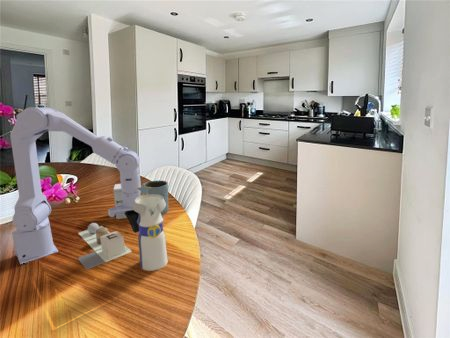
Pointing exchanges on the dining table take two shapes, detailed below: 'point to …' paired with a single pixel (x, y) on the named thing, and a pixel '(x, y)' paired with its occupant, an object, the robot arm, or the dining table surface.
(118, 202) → the supplement box
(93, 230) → the grey ball
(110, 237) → the letter cube
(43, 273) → the dining table surface
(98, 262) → the slate mat
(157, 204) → the cream belted figurine
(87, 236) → the tile set
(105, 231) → the cork
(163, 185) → the grey plant pot
